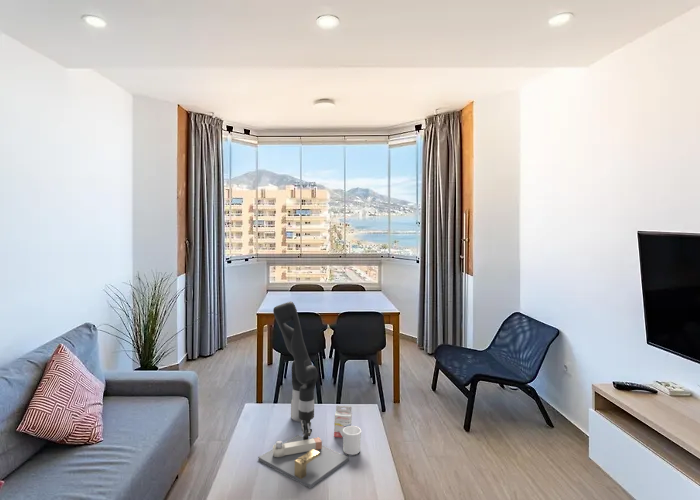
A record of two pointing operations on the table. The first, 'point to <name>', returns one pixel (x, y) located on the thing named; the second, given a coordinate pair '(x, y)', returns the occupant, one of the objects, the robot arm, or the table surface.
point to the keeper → (304, 462)
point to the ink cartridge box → (342, 420)
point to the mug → (351, 440)
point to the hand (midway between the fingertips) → (305, 442)
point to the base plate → (314, 469)
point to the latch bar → (296, 447)
